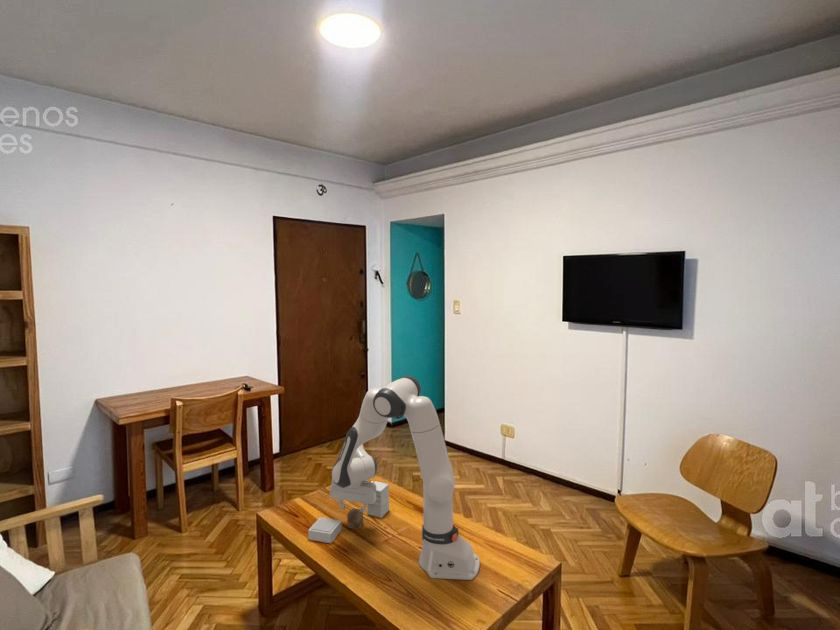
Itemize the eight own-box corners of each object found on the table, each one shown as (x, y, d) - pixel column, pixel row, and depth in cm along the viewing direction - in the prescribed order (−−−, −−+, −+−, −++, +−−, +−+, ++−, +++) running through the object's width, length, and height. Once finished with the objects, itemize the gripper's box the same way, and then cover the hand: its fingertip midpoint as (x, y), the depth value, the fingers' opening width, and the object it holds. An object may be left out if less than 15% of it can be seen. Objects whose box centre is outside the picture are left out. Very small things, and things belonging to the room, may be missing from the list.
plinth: (341, 529, 190) (341, 519, 189) (330, 543, 180) (330, 533, 180) (320, 526, 192) (320, 516, 192) (308, 539, 183) (308, 529, 182)
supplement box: (375, 506, 208) (375, 480, 207) (389, 510, 205) (389, 483, 204) (367, 514, 202) (366, 487, 200) (381, 518, 198) (380, 490, 197)
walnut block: (363, 522, 195) (362, 509, 194) (358, 528, 190) (358, 515, 190) (352, 521, 196) (352, 507, 196) (347, 527, 192) (347, 513, 191)
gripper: (378, 479, 191) (378, 510, 193) (334, 472, 196) (334, 503, 198) (373, 485, 185) (373, 517, 187) (328, 479, 190) (328, 510, 192)
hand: (352, 510), depth 192 cm, fingers open, 8 cm apart
